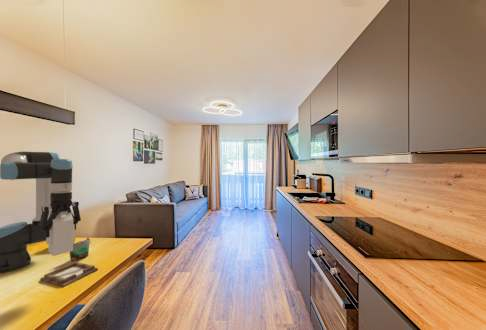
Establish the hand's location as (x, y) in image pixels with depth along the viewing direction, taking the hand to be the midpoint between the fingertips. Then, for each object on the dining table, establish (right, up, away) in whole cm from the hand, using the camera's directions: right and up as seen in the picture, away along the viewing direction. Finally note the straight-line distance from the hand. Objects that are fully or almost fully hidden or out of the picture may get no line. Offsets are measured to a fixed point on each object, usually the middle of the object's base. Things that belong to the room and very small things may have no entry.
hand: (60, 240), depth 95 cm
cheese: (-41, -22, +47) cm, 66 cm away
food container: (-14, -22, +30) cm, 39 cm away
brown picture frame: (-4, -22, +10) cm, 24 cm away
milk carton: (0, -6, 0) cm, 6 cm away
